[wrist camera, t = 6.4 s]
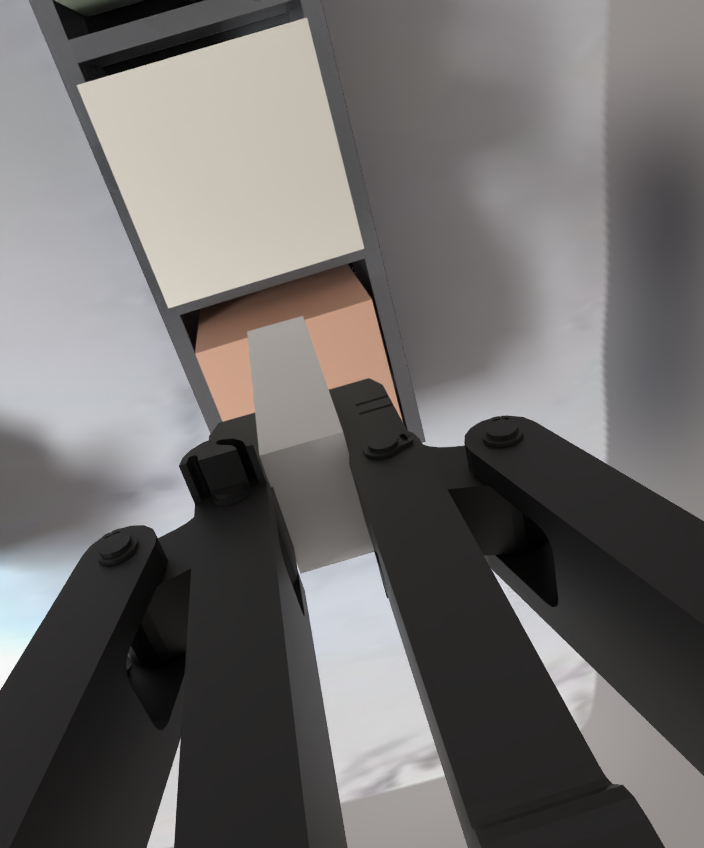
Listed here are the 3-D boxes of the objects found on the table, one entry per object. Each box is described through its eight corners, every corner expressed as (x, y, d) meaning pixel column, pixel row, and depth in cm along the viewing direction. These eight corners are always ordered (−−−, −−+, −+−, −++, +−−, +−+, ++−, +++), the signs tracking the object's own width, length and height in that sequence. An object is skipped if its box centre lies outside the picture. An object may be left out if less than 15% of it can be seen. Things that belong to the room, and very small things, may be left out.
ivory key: (179, 267, 24) (168, 308, 19) (107, 85, 21) (76, 85, 17) (338, 218, 24) (364, 248, 20) (289, 31, 21) (307, 17, 17)
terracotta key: (250, 436, 29) (254, 499, 24) (200, 308, 26) (195, 353, 22) (381, 395, 29) (409, 450, 25) (347, 263, 26) (371, 299, 22)
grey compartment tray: (237, 447, 31) (238, 500, 27) (-45, -254, 19) (-115, -341, 15) (400, 396, 31) (425, 441, 27) (220, -327, 20) (218, -432, 16)
